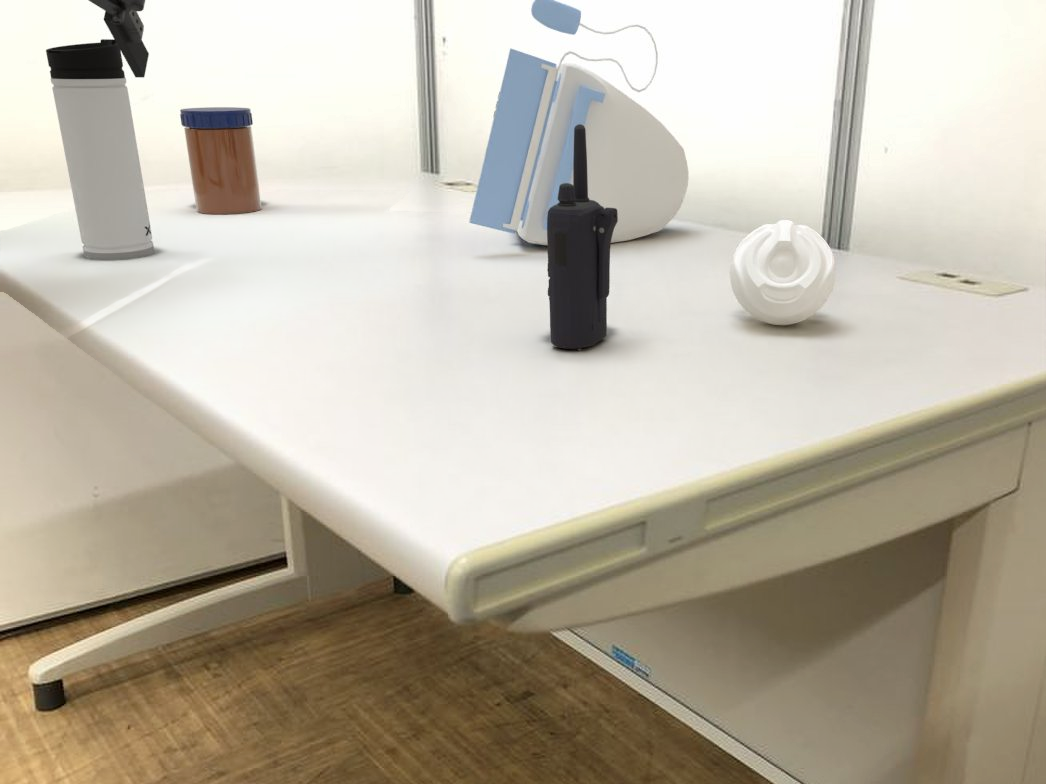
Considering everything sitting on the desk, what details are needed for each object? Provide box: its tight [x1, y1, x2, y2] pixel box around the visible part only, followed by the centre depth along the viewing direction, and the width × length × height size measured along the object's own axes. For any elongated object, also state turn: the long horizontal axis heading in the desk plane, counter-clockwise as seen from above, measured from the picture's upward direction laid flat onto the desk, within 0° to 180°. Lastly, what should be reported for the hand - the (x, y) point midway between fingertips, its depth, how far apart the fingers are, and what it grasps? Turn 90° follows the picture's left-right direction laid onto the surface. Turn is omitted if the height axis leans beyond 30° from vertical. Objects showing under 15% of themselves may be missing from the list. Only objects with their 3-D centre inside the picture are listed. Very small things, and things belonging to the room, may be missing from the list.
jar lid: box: [179, 106, 254, 128], centre depth 130 cm, size 8×8×2 cm
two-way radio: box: [546, 124, 618, 351], centre depth 74 cm, size 6×4×15 cm
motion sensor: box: [729, 219, 837, 326], centre depth 81 cm, size 8×8×8 cm
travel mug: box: [45, 38, 155, 261], centre depth 100 cm, size 6×7×20 cm
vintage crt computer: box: [468, 0, 689, 246], centre depth 115 cm, size 25×23×17 cm
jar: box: [183, 125, 262, 215], centre depth 132 cm, size 8×8×12 cm
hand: (63, 65), depth 93 cm, fingers open, 13 cm apart
